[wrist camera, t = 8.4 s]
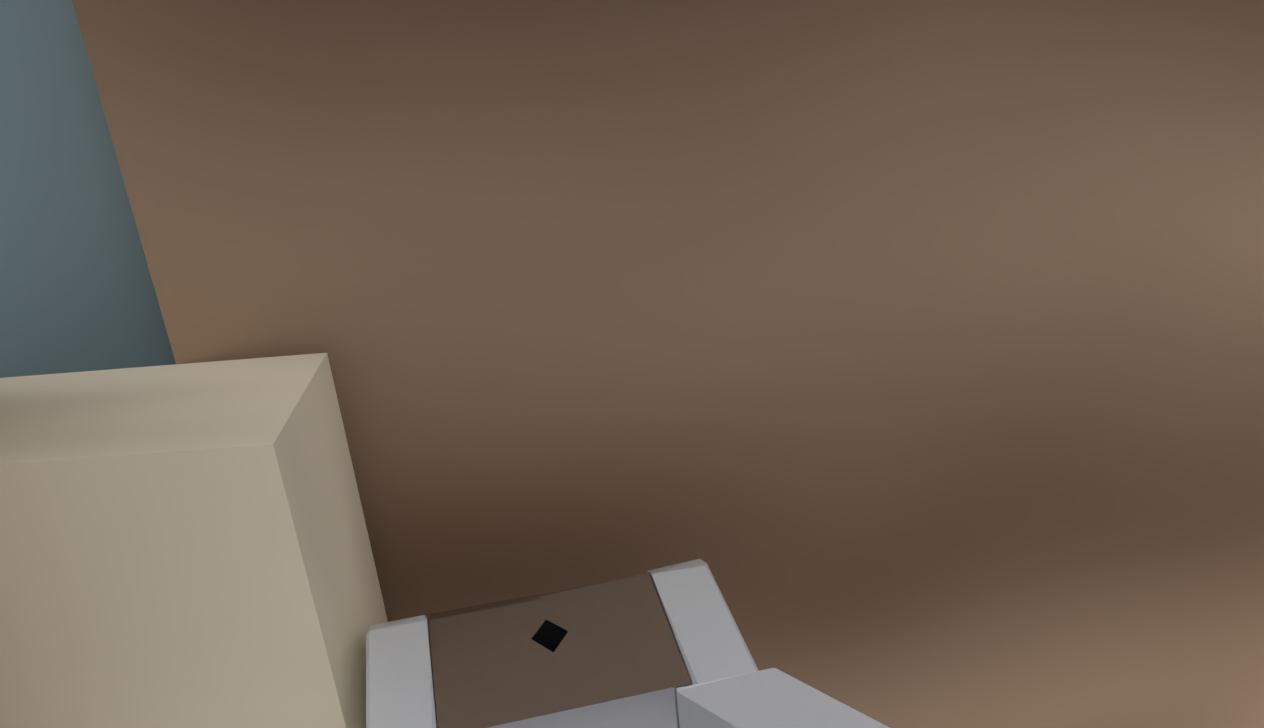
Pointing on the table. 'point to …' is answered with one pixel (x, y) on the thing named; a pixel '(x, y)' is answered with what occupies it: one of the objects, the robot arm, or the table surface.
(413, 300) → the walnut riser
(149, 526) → the birch block
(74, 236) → the rubber mat
